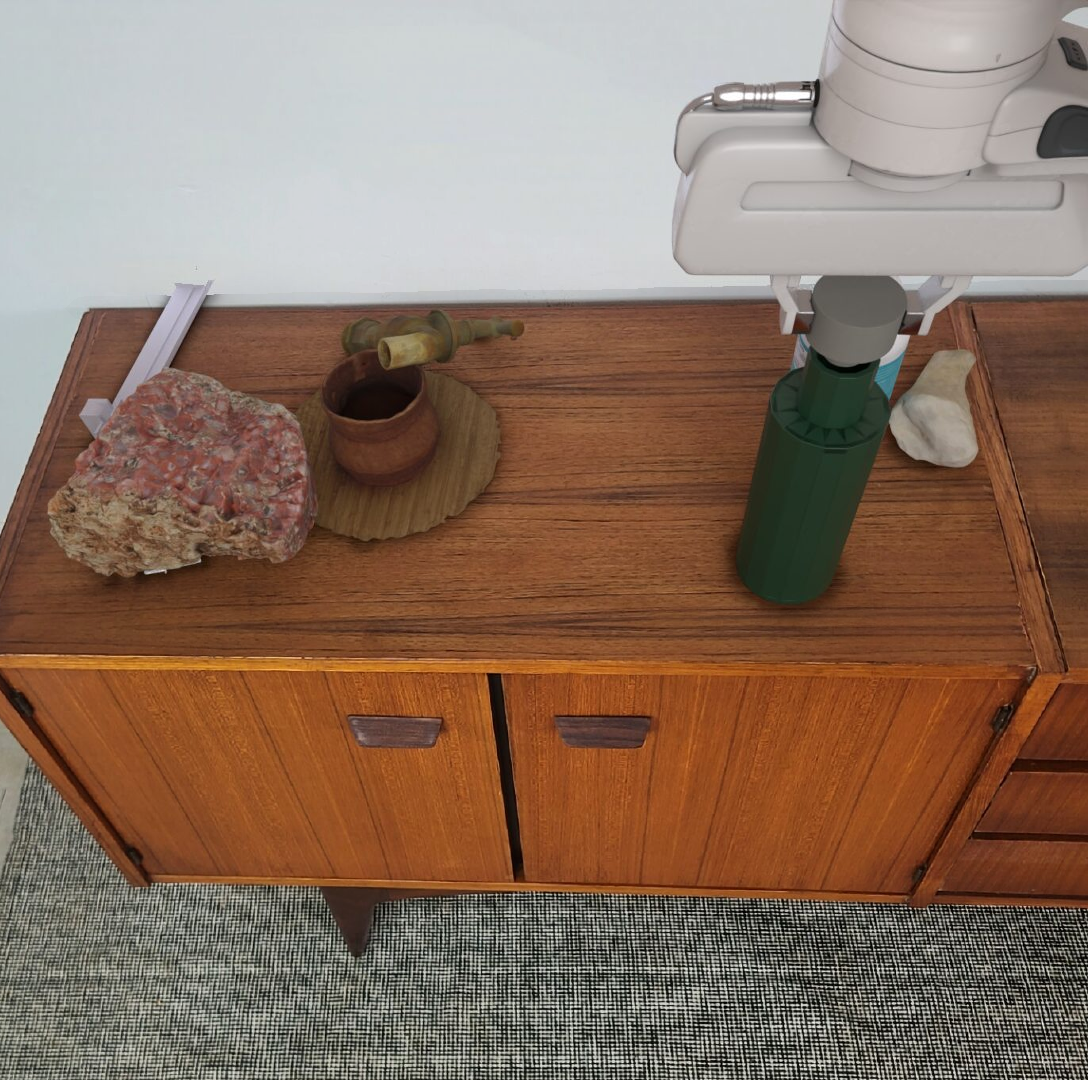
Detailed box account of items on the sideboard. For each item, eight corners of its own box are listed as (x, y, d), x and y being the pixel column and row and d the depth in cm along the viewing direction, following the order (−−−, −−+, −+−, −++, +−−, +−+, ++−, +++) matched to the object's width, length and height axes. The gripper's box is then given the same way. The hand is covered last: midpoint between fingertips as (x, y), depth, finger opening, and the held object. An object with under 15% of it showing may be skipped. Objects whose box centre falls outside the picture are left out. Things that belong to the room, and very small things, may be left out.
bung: (882, 324, 61) (900, 266, 57) (893, 385, 58) (913, 328, 55) (795, 323, 61) (808, 265, 58) (802, 384, 58) (817, 327, 55)
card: (146, 579, 78) (144, 577, 78) (139, 553, 80) (138, 550, 80) (265, 541, 80) (264, 538, 79) (257, 516, 81) (256, 513, 81)
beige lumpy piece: (969, 478, 79) (989, 433, 75) (881, 468, 80) (896, 423, 76) (968, 372, 85) (987, 325, 81) (886, 363, 86) (900, 317, 82)
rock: (152, 435, 87) (68, 581, 78) (117, 340, 78) (19, 493, 70) (355, 471, 84) (291, 626, 76) (340, 378, 76) (267, 540, 68)
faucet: (294, 321, 86) (448, 300, 94) (302, 374, 88) (453, 348, 96) (388, 324, 75) (553, 300, 83) (395, 384, 76) (557, 355, 84)
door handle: (172, 250, 95) (202, 249, 94) (186, 277, 97) (215, 276, 97) (72, 426, 83) (106, 426, 83) (90, 452, 86) (123, 452, 85)
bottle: (828, 527, 77) (899, 312, 61) (838, 606, 74) (916, 398, 57) (733, 525, 78) (777, 311, 62) (738, 603, 74) (786, 397, 58)
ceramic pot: (227, 471, 84) (202, 408, 78) (375, 339, 91) (361, 272, 85) (404, 579, 77) (391, 518, 71) (548, 427, 84) (546, 360, 78)
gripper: (681, 126, 46) (658, 366, 57) (1188, 121, 44) (1059, 370, 55) (677, 45, 49) (656, 287, 60) (1147, 38, 47) (1034, 288, 59)
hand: (852, 327), depth 58 cm, fingers closed on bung, 5 cm apart
